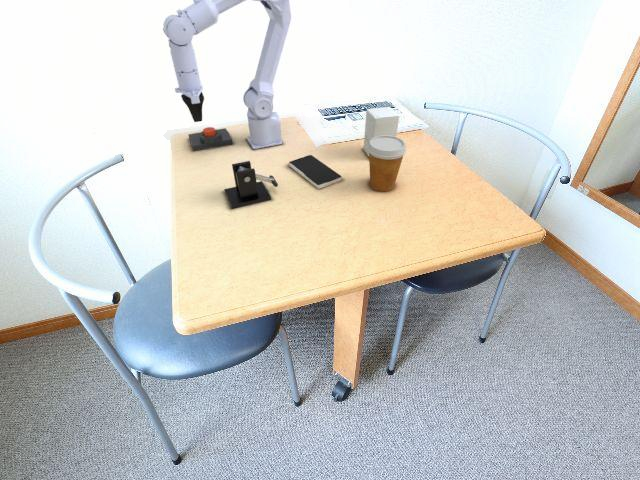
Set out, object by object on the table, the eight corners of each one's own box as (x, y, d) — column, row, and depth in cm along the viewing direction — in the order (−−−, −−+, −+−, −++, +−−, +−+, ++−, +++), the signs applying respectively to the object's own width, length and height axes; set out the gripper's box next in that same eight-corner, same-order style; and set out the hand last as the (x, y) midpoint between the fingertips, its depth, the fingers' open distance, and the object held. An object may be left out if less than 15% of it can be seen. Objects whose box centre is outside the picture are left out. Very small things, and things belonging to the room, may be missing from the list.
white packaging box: (394, 157, 108) (400, 115, 100) (370, 160, 107) (374, 118, 99) (385, 146, 114) (390, 106, 106) (362, 149, 113) (365, 108, 104)
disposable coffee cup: (403, 179, 99) (410, 137, 91) (396, 198, 92) (403, 154, 85) (368, 173, 102) (372, 132, 94) (360, 191, 95) (363, 148, 87)
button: (214, 131, 115) (213, 126, 114) (216, 136, 113) (215, 130, 112) (203, 133, 114) (201, 128, 113) (205, 138, 112) (203, 132, 110)
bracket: (262, 184, 97) (258, 155, 92) (271, 199, 92) (268, 170, 86) (224, 192, 95) (218, 163, 89) (231, 209, 89) (225, 179, 84)
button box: (226, 132, 122) (224, 122, 119) (233, 145, 115) (231, 134, 113) (189, 139, 118) (186, 128, 116) (194, 152, 111) (191, 141, 109)
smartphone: (318, 185, 95) (287, 162, 104) (318, 189, 96) (287, 165, 105) (342, 176, 98) (311, 154, 107) (342, 180, 99) (311, 158, 108)
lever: (270, 181, 96) (274, 173, 95) (275, 189, 93) (279, 181, 92) (235, 172, 90) (238, 163, 89) (239, 181, 87) (242, 172, 86)
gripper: (167, 64, 99) (180, 113, 107) (173, 79, 88) (186, 133, 97) (194, 61, 101) (204, 110, 110) (203, 76, 91) (213, 128, 99)
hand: (198, 120), depth 104 cm, fingers closed
